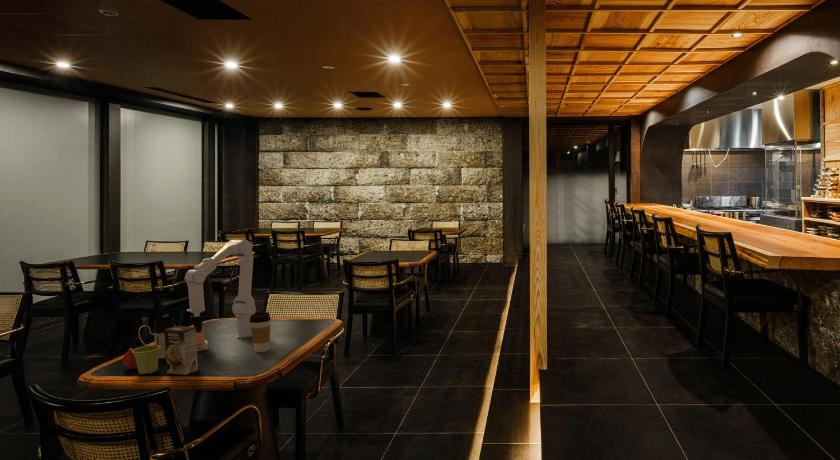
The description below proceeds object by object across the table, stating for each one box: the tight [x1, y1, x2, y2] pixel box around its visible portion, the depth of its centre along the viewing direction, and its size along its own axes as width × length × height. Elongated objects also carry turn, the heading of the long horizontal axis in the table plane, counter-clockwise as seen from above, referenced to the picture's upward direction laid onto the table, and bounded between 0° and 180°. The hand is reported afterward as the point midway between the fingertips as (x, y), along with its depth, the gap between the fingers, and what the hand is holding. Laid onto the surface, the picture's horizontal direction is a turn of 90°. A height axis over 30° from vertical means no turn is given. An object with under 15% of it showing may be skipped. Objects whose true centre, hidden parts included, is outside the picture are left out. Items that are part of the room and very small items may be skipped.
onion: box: [122, 347, 137, 370], centre depth 201 cm, size 6×6×8 cm
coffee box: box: [164, 325, 199, 376], centre depth 195 cm, size 9×6×16 cm
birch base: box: [197, 339, 209, 352], centre depth 225 cm, size 6×6×3 cm
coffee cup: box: [249, 311, 272, 353], centre depth 219 cm, size 8×8×15 cm
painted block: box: [196, 329, 206, 344], centre depth 225 cm, size 4×4×5 cm
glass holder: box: [137, 316, 176, 359], centre depth 216 cm, size 9×14×15 cm, turn 135°
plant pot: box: [132, 344, 161, 375], centre depth 196 cm, size 9×9×9 cm
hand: (198, 330), depth 225 cm, fingers open, 7 cm apart
